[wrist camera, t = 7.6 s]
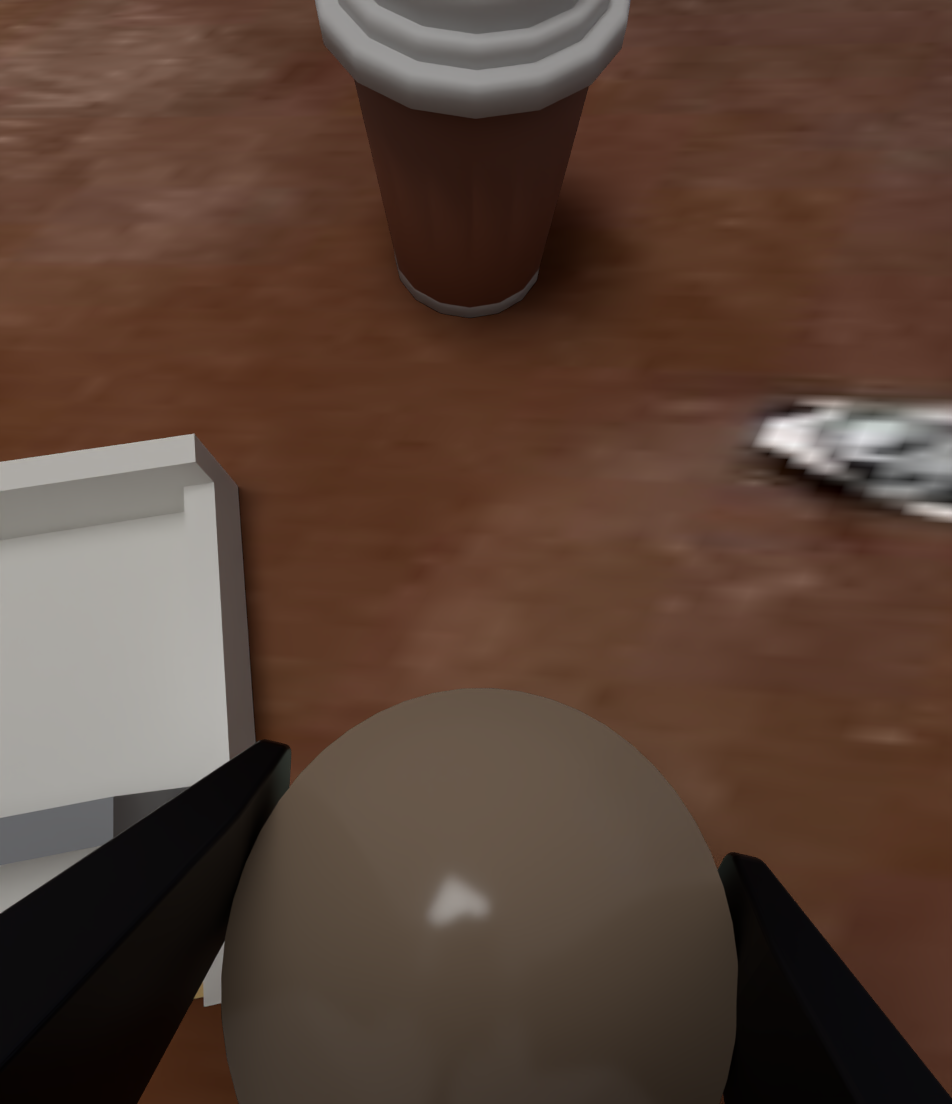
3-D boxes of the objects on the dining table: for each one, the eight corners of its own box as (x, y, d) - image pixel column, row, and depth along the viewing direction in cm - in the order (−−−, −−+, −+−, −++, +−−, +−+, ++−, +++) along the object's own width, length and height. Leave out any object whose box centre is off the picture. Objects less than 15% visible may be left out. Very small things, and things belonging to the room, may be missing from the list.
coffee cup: (470, 383, 25) (480, 71, 13) (320, 256, 27) (217, -113, 15) (613, 257, 27) (725, -103, 16) (466, 148, 29) (470, -246, 17)
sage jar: (459, 1067, 13) (462, 1471, 6) (293, 843, 15) (117, 932, 7) (645, 861, 15) (843, 966, 7) (477, 674, 16) (496, 597, 8)
